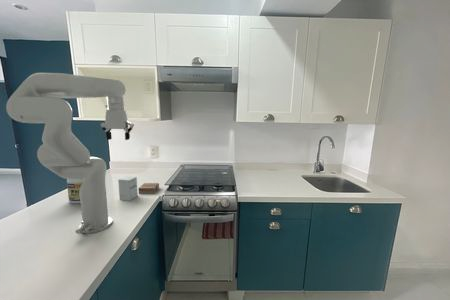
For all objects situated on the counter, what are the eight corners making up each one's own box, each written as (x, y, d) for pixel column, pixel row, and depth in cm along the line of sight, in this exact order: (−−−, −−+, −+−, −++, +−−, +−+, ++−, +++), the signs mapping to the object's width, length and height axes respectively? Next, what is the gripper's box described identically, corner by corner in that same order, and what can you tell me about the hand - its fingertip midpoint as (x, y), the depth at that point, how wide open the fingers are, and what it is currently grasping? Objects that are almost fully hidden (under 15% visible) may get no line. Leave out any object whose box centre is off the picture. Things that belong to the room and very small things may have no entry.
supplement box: (130, 200, 112) (128, 180, 110) (119, 199, 114) (117, 179, 112) (138, 196, 119) (137, 176, 117) (127, 195, 121) (126, 175, 119)
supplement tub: (64, 205, 106) (60, 175, 103) (75, 196, 117) (72, 170, 114) (90, 202, 109) (87, 174, 106) (97, 194, 120) (95, 168, 118)
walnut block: (154, 194, 124) (154, 188, 123) (138, 194, 124) (138, 188, 123) (159, 188, 134) (158, 183, 133) (144, 188, 133) (144, 183, 133)
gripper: (94, 106, 97) (97, 140, 100) (129, 107, 98) (131, 140, 100) (103, 107, 105) (106, 138, 107) (135, 108, 105) (137, 139, 108)
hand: (118, 139), depth 104 cm, fingers open, 9 cm apart
